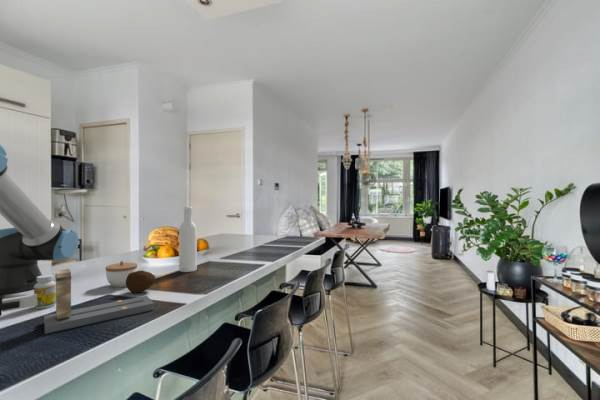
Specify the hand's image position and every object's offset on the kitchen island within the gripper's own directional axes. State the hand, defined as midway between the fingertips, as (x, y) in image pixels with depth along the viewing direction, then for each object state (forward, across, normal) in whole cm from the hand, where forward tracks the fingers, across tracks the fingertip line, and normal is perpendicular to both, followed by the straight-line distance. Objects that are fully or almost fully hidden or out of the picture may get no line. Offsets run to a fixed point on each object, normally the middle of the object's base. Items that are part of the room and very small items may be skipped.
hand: (37, 299), depth 79 cm
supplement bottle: (+2, -21, -8) cm, 22 cm away
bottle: (+54, -38, -8) cm, 66 cm away
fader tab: (+5, 0, -5) cm, 8 cm away
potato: (+29, -17, -8) cm, 34 cm away
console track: (+14, 0, -8) cm, 16 cm away
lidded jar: (+25, -31, -8) cm, 41 cm away
